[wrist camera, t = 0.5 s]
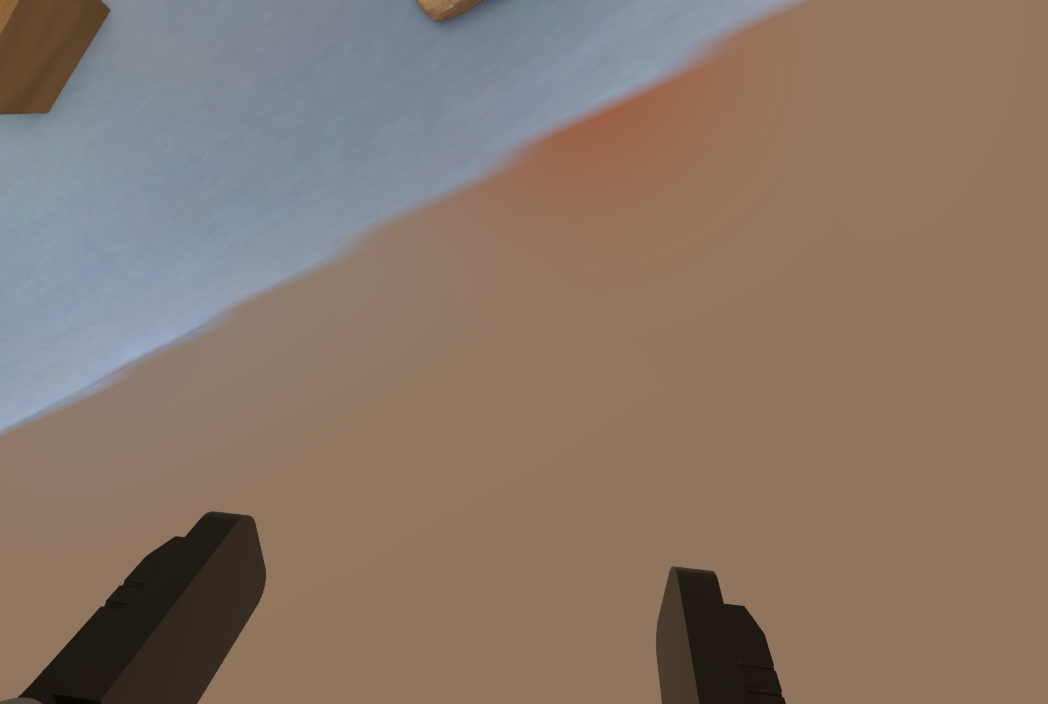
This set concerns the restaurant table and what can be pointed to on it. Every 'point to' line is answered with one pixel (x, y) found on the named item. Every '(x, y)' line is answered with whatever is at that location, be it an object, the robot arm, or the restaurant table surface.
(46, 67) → the walnut base block
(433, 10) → the brick
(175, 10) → the restaurant table surface
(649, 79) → the restaurant table surface
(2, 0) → the oak top block
